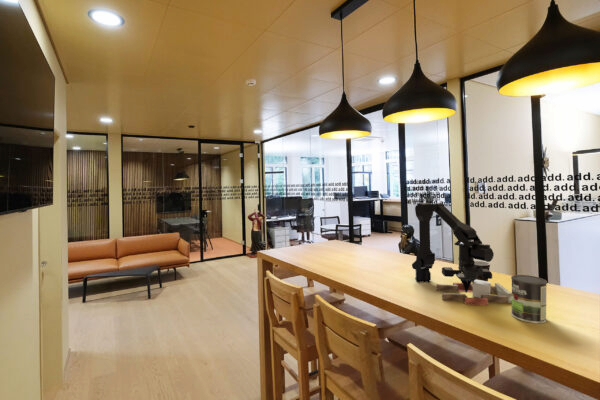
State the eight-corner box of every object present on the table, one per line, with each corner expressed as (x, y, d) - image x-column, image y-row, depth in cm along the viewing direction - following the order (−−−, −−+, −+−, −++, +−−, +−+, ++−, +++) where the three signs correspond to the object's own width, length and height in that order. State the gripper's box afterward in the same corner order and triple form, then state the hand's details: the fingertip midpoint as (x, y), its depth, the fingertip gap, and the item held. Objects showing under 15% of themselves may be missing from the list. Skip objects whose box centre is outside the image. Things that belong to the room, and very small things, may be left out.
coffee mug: (493, 286, 144) (493, 265, 144) (473, 286, 146) (473, 265, 145) (483, 279, 155) (483, 259, 155) (465, 278, 157) (465, 259, 157)
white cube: (490, 295, 133) (490, 282, 133) (488, 299, 128) (489, 285, 128) (474, 292, 137) (475, 279, 136) (472, 296, 132) (473, 282, 131)
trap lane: (444, 303, 126) (444, 293, 126) (434, 287, 146) (434, 278, 146) (516, 306, 120) (516, 296, 120) (495, 289, 140) (495, 280, 140)
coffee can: (527, 324, 105) (527, 284, 105) (504, 312, 115) (504, 275, 115) (554, 322, 106) (554, 282, 105) (530, 310, 116) (529, 274, 116)
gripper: (447, 260, 127) (446, 297, 128) (497, 262, 123) (497, 300, 123) (441, 254, 138) (441, 288, 139) (487, 256, 134) (487, 291, 134)
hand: (466, 292), depth 134 cm, fingers closed
